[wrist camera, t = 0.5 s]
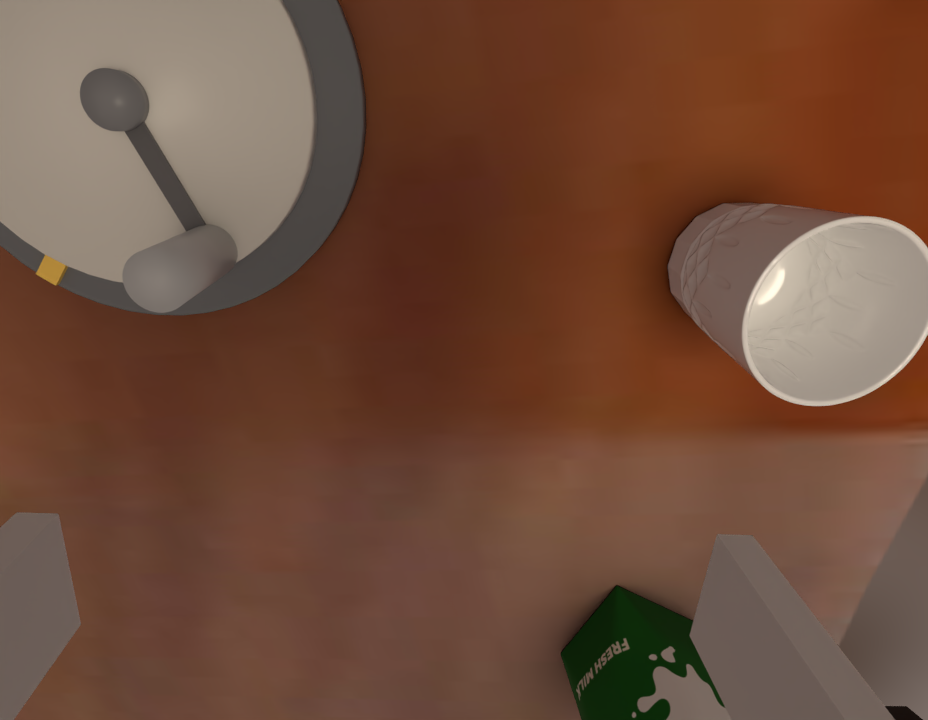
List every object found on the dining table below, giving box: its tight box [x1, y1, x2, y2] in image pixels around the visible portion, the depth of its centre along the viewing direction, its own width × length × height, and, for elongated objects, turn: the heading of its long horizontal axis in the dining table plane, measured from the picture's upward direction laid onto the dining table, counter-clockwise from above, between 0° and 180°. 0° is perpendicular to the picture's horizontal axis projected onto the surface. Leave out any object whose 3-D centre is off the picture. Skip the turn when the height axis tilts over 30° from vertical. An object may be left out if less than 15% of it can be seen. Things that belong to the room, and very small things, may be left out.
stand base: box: [0, 0, 366, 315], centre depth 28 cm, size 20×20×2 cm
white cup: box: [668, 203, 928, 406], centre depth 29 cm, size 8×8×10 cm
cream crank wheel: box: [0, 0, 317, 313], centre depth 24 cm, size 16×16×8 cm
